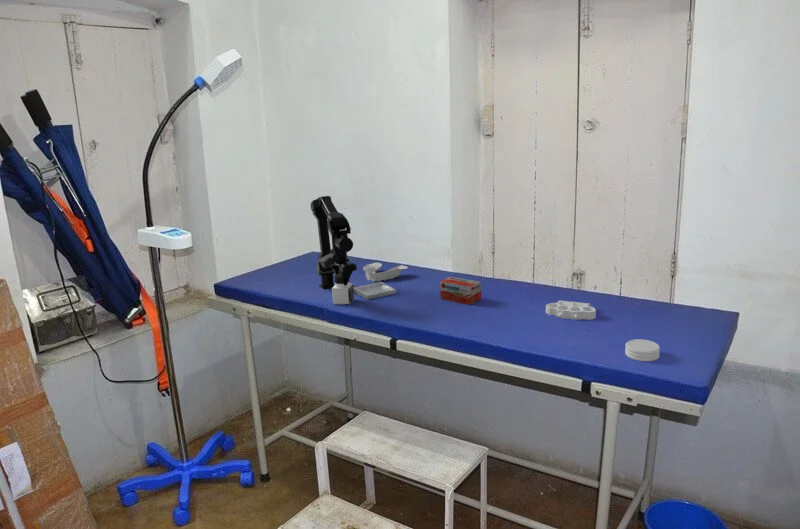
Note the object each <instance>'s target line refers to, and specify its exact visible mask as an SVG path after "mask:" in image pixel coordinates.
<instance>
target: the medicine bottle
mask: <svg viewBox="0 0 800 529" xmlns="http://www.w3.org/2000/svg"><path fill="white" fill-rule="evenodd" d="M333 276H334V284H335V286H334V287H332V288H331V293H332V305H345V304H349V305H350V304H351V303H352V302H353V301H354V299H355V294H354V293H355V292H353V288H354V284H353V283H352V282H350V280H349V281H348V283H347V285H344V283H343V279H342V274H341V273H339V274H336V275H335V274H334V275H333Z"/></svg>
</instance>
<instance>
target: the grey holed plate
mask: <svg viewBox="0 0 800 529" xmlns="http://www.w3.org/2000/svg"><path fill="white" fill-rule="evenodd" d="M546 313H547V314H549V315H548V316H550V315H555V316H554V317H557V316H558V317H557V318H559V317H561V318H560V319H568V320H588V321H589V320H590V321H591V320H594V319H596V316H597V309H596V308H595V307H594V306H591V303H589V302H587V303H586V302H576V301H568V300H562V299H560V300H558V301H557V302H551V303H547V304H545V314H546ZM547 314H546V315H547Z"/></svg>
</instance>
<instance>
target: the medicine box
mask: <svg viewBox="0 0 800 529" xmlns="http://www.w3.org/2000/svg"><path fill="white" fill-rule="evenodd" d="M439 282H440V283H439V284H440V285H439V293H440V294H439V296H440V300H443V301H449V302H452V303H458V304H462V305H468V306H472V305H474V304H475V303H477V302H479V301H482V285H481V284H482V283H481V281H477V280H472V279H465V278H460V277H453V276H448V277H446V278H445V279H442V280H440V281H439ZM478 300H479V301H478ZM476 301H477V302H476ZM473 303H474V304H473Z"/></svg>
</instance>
